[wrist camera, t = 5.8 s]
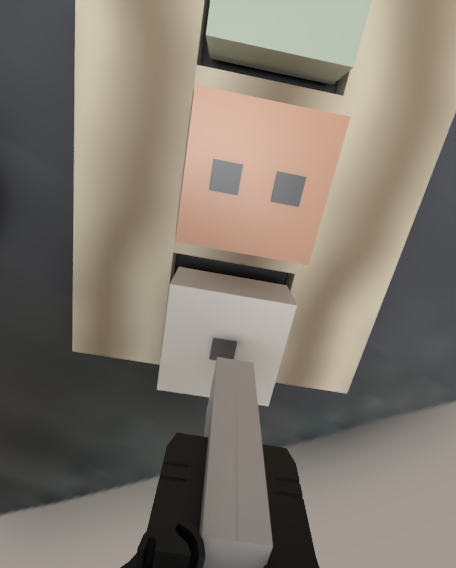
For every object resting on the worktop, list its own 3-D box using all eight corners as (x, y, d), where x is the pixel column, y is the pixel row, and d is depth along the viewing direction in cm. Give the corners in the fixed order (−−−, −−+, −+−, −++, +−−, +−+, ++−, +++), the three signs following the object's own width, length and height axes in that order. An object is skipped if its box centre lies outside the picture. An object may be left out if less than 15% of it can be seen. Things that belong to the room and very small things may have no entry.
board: (82, 339, 21) (72, 351, 19) (93, -165, 13) (77, -206, 11) (339, 379, 22) (346, 393, 21) (501, -62, 14) (532, -89, 12)
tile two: (183, 230, 16) (174, 242, 13) (201, 99, 14) (194, 83, 11) (296, 250, 16) (308, 266, 14) (329, 126, 14) (351, 116, 12)
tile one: (166, 359, 19) (156, 390, 16) (178, 266, 17) (169, 284, 14) (263, 374, 19) (268, 407, 16) (287, 285, 17) (297, 306, 14)
